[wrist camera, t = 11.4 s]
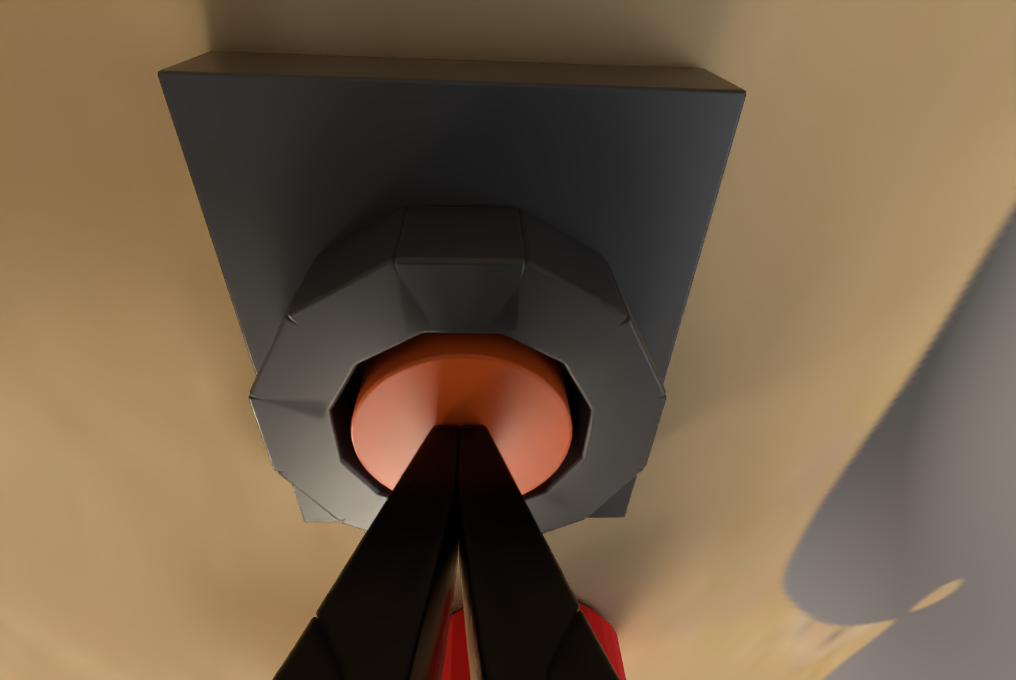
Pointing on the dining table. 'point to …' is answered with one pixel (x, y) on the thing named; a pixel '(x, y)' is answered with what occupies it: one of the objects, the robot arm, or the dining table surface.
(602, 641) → the soda can
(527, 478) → the button
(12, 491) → the dining table surface
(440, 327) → the panel
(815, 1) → the dining table surface
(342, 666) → the robot arm
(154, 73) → the dining table surface
